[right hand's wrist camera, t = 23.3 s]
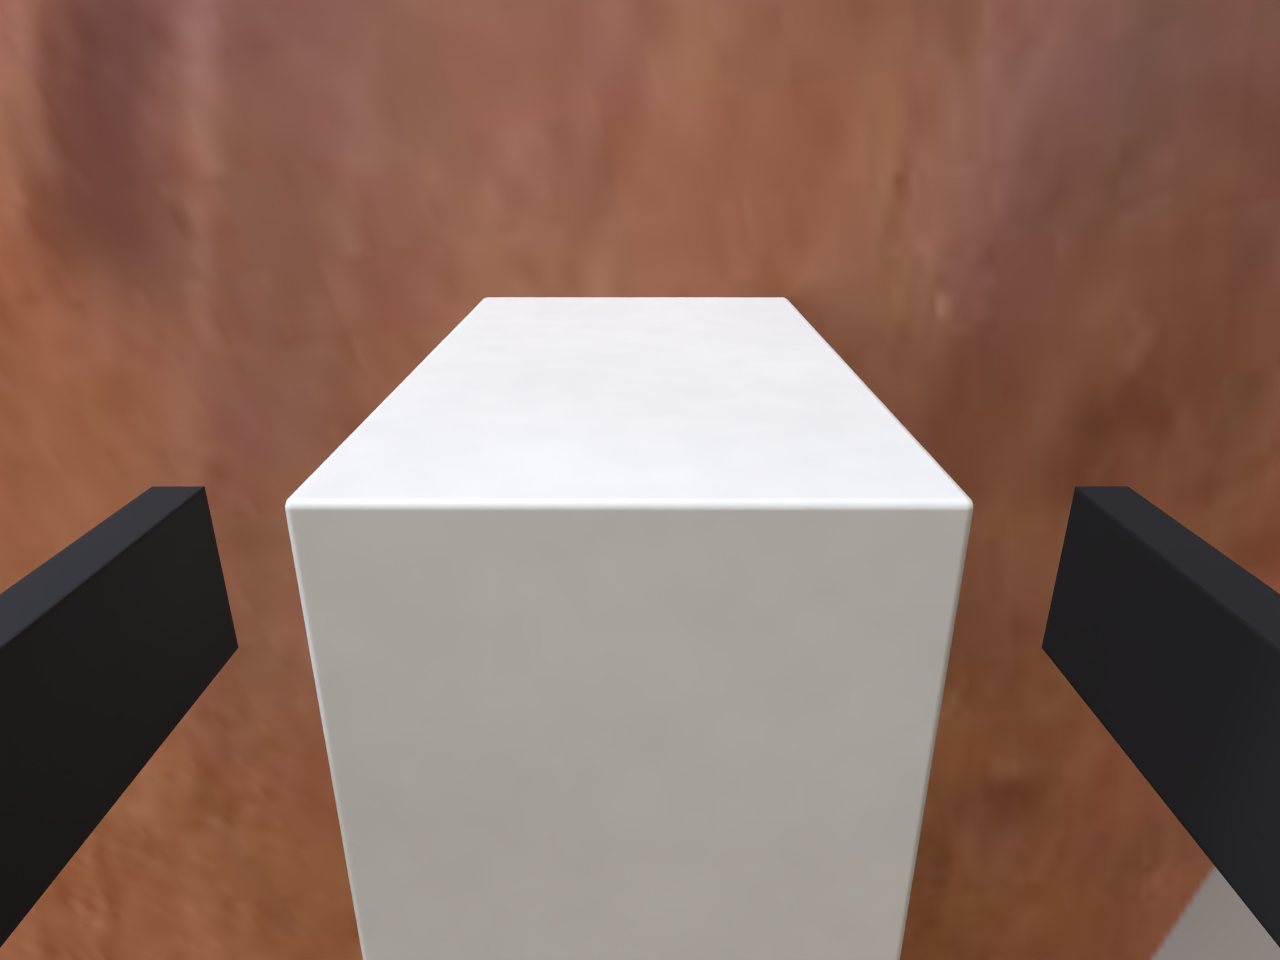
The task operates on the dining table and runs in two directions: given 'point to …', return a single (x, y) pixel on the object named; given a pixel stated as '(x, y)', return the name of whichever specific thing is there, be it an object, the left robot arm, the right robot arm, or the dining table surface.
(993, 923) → the dining table surface
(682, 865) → the block
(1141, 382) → the dining table surface
